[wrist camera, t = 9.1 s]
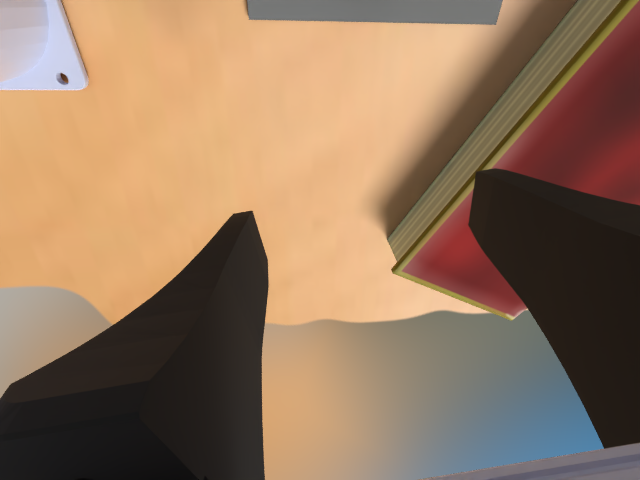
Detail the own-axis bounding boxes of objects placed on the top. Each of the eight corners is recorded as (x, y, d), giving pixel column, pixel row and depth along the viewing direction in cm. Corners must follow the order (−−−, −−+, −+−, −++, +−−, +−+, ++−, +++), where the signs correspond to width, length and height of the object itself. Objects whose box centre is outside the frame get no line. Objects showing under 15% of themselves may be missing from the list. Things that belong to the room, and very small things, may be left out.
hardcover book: (759, 40, 19) (865, 48, 15) (489, 286, 29) (517, 324, 25) (652, -115, 14) (766, -151, 11) (378, 237, 24) (394, 276, 21)
